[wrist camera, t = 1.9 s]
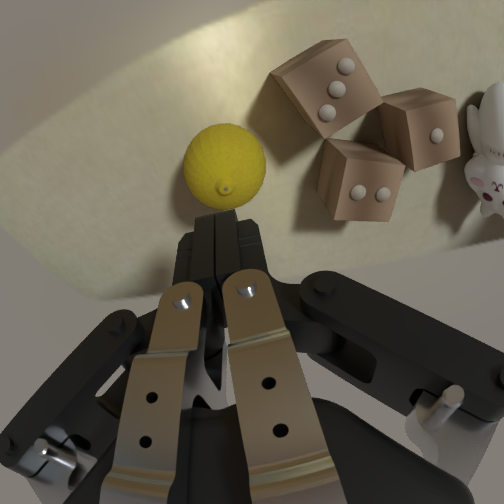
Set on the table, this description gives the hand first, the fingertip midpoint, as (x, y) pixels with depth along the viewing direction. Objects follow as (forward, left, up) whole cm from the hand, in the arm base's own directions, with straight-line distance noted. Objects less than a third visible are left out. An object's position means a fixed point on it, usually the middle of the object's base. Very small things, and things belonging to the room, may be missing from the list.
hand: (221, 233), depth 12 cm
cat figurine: (-27, +4, -14) cm, 31 cm away
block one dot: (-16, +1, -14) cm, 21 cm away
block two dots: (-10, +5, -14) cm, 18 cm away
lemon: (0, +1, -14) cm, 14 cm away
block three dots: (-8, -3, -14) cm, 16 cm away
